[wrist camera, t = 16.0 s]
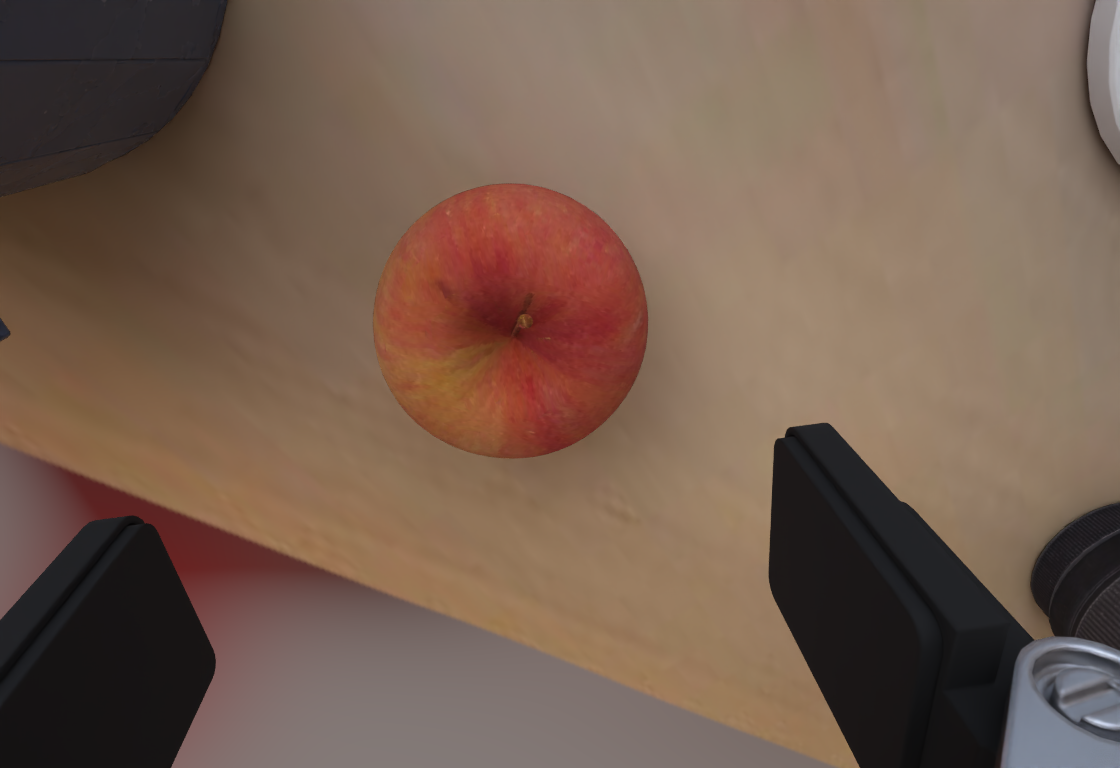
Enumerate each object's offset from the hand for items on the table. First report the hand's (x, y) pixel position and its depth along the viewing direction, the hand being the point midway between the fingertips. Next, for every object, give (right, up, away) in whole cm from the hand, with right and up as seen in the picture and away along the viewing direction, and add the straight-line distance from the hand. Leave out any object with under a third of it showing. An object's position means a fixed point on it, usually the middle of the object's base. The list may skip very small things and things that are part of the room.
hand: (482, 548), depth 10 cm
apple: (0, +6, +12) cm, 14 cm away
